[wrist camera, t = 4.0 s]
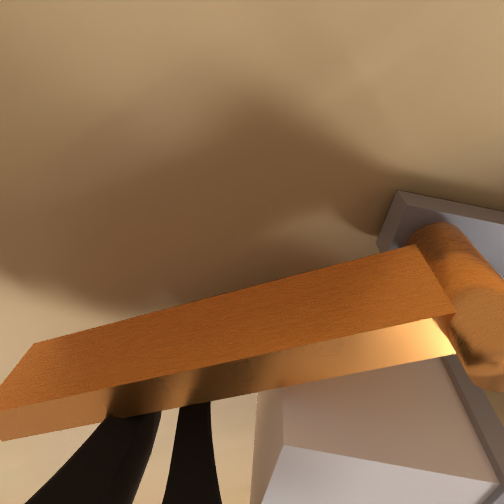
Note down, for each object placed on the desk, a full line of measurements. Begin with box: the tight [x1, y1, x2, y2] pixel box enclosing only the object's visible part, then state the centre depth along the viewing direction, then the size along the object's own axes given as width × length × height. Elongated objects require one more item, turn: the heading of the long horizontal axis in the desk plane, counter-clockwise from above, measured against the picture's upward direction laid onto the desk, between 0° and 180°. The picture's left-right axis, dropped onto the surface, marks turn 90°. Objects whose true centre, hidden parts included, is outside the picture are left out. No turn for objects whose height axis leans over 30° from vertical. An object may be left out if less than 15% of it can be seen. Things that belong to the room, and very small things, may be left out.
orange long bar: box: [0, 222, 504, 441], centre depth 9 cm, size 12×1×4 cm, turn 110°
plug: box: [250, 354, 504, 504], centre depth 11 cm, size 7×4×5 cm, turn 79°
